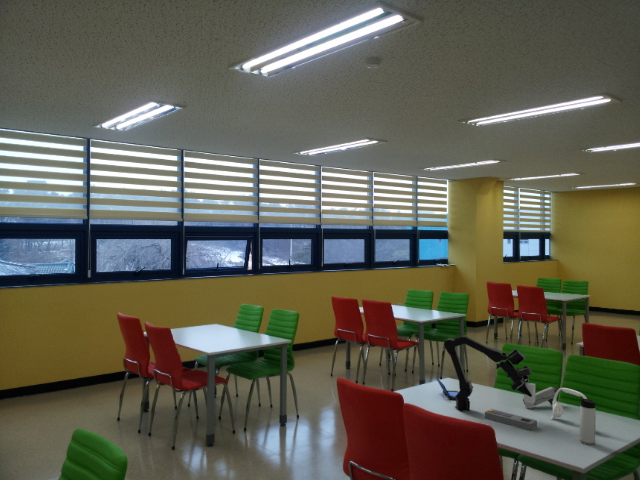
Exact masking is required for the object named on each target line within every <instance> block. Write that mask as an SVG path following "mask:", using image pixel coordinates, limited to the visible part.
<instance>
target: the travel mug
mask: <svg viewBox="0 0 640 480" xmlns="http://www.w3.org/2000/svg"><path fill="white" fill-rule="evenodd" d="M579 401H580V405H579V406H580V408H579V442H581V444H583V445H586V446H594V445H596V408H597V407H596V401H593V400H592V399H589V398H587V399H584V398H583V397H582V398H580V399H579Z"/></svg>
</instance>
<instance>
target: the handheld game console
mask: <svg viewBox="0 0 640 480" xmlns="http://www.w3.org/2000/svg"><path fill="white" fill-rule="evenodd" d="M436 380H437V382H438V384H439V385H440V387H441V389H442V393H443V394H444V395H445V396H446V397H447V398H448V399H449V400H451V401H452V400H453V401H456V395H457V394H458V392H459V391H458V390H448V389H447V388H446V387H445V385H444V383H443V382H442V381H440V379H439V378H436Z"/></svg>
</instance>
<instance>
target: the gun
mask: <svg viewBox="0 0 640 480" xmlns="http://www.w3.org/2000/svg"><path fill="white" fill-rule="evenodd" d="M558 389H559V387H557V386H554V387H552V386H549V387H547V388H545V389H544V388H543V390H539V391H537V392H535V402H534V407H536V406H538V405H541V404H543V403H545V402H549V404H550V405H552V402H553V399H554V396H555V393H556V391H557V390H558ZM559 395H560V392H559V393H558V395H557V396H559ZM522 400H523V401H522V402H523V404H524V406H525V402H524V397H523V399H522Z"/></svg>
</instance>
